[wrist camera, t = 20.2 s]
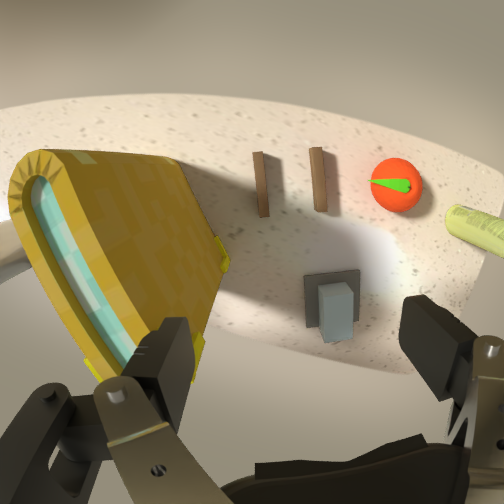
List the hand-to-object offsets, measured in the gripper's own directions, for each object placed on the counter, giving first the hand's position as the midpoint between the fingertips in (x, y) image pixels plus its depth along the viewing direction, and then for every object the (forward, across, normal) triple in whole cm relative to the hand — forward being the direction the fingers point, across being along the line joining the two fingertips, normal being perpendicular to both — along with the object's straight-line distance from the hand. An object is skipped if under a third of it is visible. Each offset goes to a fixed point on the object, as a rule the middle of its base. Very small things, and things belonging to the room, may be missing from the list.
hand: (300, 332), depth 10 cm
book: (+30, +11, -1) cm, 32 cm away
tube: (+29, -29, +2) cm, 41 cm away
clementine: (+29, -16, -3) cm, 34 cm away
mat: (+29, -9, +13) cm, 33 cm away
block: (+29, -9, +14) cm, 33 cm away
